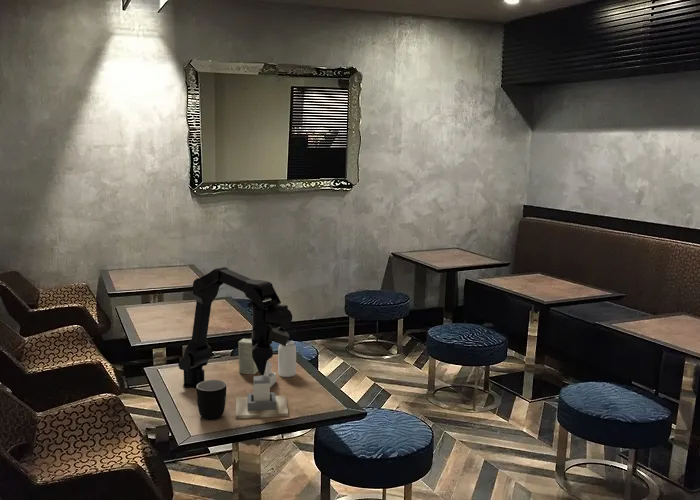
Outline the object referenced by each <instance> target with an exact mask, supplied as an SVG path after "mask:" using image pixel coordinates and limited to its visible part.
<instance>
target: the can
mask: <svg viewBox="0 0 700 500" xmlns="http://www.w3.org/2000/svg"><path fill="white" fill-rule="evenodd" d="M277 351H278V355H277V357H278V358H277V359H278V360H277V363H278V371H277V372H278V376H280V377H281V378H292V377H295V376H296V374H297V346H296V342H295V341H293V340H288V341H287V344H286V346H283V345H282V344H279V345H278V349H277Z"/></svg>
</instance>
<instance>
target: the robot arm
mask: <svg viewBox="0 0 700 500" xmlns="http://www.w3.org/2000/svg"><path fill="white" fill-rule="evenodd" d="M223 284H225V285H227V286H229V287H231V288H234V289H235V290H238V291H240V292H242V293H244V295H245V297H246V298H247V299H248V300H250V301H249V303H247V305H246V307H249V308H251V309H252V310H251V311H252V312H251V313H252V317H251V318H252V323H251V324H252V328H251V330H252V332H251V339H252V346H253V347H252V358H253V360H254V362H255V364H256V366H257V369H258V373H259V376H261V375H264V373H265V368H266V364H267V360H268V361H270V359H272V358H273V356H274V353H273V352H274V349H273V346H272V345H271V344H273V342H274V343H276V344H279V345H280V344H282V345H283V346H286V344H287V341H289V338H290V334H289V333H288V331H286V330H285V329H287V328H289V326H291V324H292V321H293V314H292V311H291V310H290V309H289V306H288V305H287V304H282V301H281V300H280V297H279V296H278V294H277V292H276V290H275V288H274V286H273V283H272V282H270V281H269V280H263V279H251V278H250V277H247V276H245V275H242V274H241V273H238V272H236V271H233V270H231V269H229V268H228V267H225V266H222V267H217V268H214V269H212V270H211V271H210V272H208V273H206V274H204V275H203V276H201V277H197V278H196V279H194V280H193V283H192V295H193V297H194V299H195V301H196V303H195V309H194V310H195V311H194V317H193V324H192V325H193V326H192V333H191V339H190V341H189V343H188V344H187V345H186V347H185V351H184V354H183V357H182V358H181V359H180V360H179V361H178V362H177V365H178V368H179V370H182V371H183V384H182V387H183V388H196V386H197V384H198V383H200V382H203V381H206V380H205V378H206V377H205V375H206V374H205V369H203V367H204V366H208V363H209V360H210V358H212V356H211V354H212V349H213V348H212V346H210V345H209V344H208V342H207V338H208V330H209V324H210V316H211V311H212V310H211V309H212V304H213V302H214V300H215V299H216V297H217V296H218V294H219V293H218V292H219V289H220V287H221V286H222V285H223ZM272 326H274V327H275V328H273V327H272ZM276 327H277V328H276Z"/></svg>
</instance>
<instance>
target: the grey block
mask: <svg viewBox="0 0 700 500" xmlns="http://www.w3.org/2000/svg"><path fill="white" fill-rule="evenodd" d="M270 389H271V387H270V377H269V376H261V375H254V376H253V393H254V401H270V393H271V390H270Z"/></svg>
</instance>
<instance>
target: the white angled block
mask: <svg viewBox="0 0 700 500" xmlns="http://www.w3.org/2000/svg"><path fill="white" fill-rule="evenodd" d="M260 376H269V377H270V388H272V387H273V385H274V384H275V383H276V382H277V372H273V371H272V362H271V361H270V360H267V364H266V368H265V373H264V375H260Z"/></svg>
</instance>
